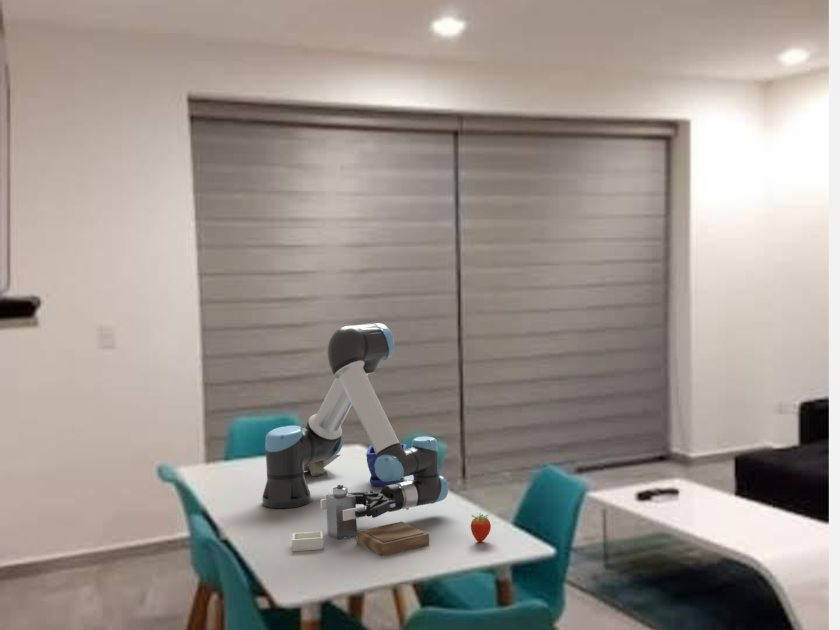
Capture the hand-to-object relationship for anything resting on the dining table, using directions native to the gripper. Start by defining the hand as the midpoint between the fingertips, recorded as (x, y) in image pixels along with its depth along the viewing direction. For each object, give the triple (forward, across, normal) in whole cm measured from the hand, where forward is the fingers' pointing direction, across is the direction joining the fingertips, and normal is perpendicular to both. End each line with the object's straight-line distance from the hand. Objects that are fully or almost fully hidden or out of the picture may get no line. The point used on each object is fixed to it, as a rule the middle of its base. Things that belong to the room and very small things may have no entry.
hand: (331, 510), depth 242 cm
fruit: (-29, -29, -8) cm, 42 cm away
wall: (-27, +69, -8) cm, 75 cm away
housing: (-3, 0, -8) cm, 8 cm away
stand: (-10, -16, -7) cm, 20 cm away
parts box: (+9, -3, -7) cm, 12 cm away
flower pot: (-42, +42, -8) cm, 60 cm away
